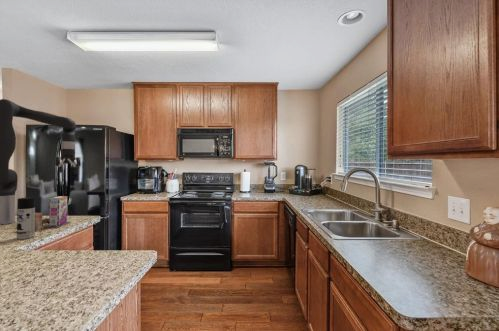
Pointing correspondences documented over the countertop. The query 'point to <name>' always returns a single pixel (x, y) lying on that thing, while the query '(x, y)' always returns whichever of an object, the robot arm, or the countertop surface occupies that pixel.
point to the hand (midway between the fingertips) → (68, 172)
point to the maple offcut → (39, 224)
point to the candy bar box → (58, 211)
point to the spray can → (25, 218)
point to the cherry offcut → (38, 217)
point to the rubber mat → (57, 226)
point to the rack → (42, 223)
